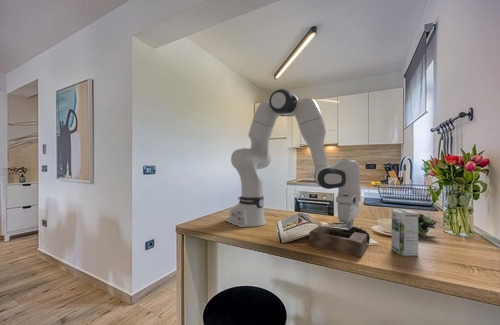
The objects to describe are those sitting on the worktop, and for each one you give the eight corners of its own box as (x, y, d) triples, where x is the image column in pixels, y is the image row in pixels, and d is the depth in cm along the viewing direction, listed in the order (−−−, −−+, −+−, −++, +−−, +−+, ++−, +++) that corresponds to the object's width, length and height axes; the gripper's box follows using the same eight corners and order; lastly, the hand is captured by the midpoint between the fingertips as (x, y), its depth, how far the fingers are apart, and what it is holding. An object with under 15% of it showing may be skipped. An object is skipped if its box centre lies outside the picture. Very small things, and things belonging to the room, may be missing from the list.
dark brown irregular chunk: (321, 238, 91) (321, 224, 91) (326, 234, 96) (326, 221, 97) (368, 247, 80) (368, 232, 80) (371, 242, 85) (371, 228, 85)
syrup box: (390, 249, 78) (390, 209, 78) (407, 249, 78) (407, 209, 78) (401, 256, 72) (400, 212, 72) (419, 256, 72) (419, 212, 72)
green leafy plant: (418, 245, 95) (434, 223, 95) (430, 250, 84) (449, 225, 84) (392, 228, 98) (408, 207, 98) (402, 231, 88) (419, 207, 88)
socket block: (309, 245, 83) (309, 232, 83) (319, 237, 91) (319, 225, 91) (361, 257, 72) (361, 242, 72) (367, 247, 79) (367, 234, 79)
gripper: (348, 193, 104) (348, 221, 104) (334, 199, 89) (335, 232, 89) (362, 194, 100) (363, 223, 100) (351, 200, 85) (351, 235, 85)
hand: (349, 228), depth 94 cm, fingers closed
